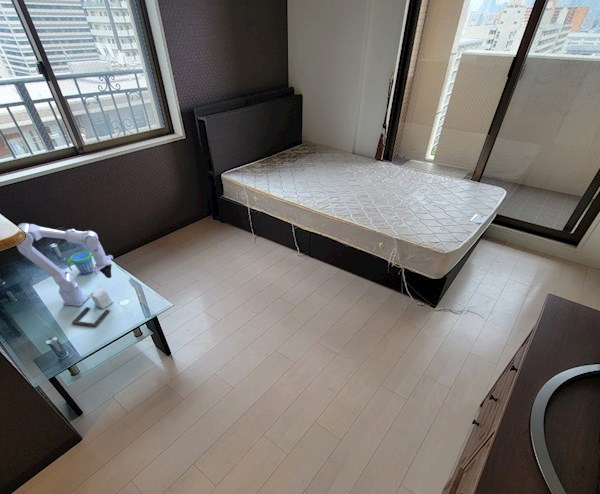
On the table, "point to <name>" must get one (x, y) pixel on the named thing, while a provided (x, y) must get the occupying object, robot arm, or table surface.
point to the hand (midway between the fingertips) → (109, 277)
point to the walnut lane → (76, 321)
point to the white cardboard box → (101, 298)
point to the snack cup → (82, 262)
